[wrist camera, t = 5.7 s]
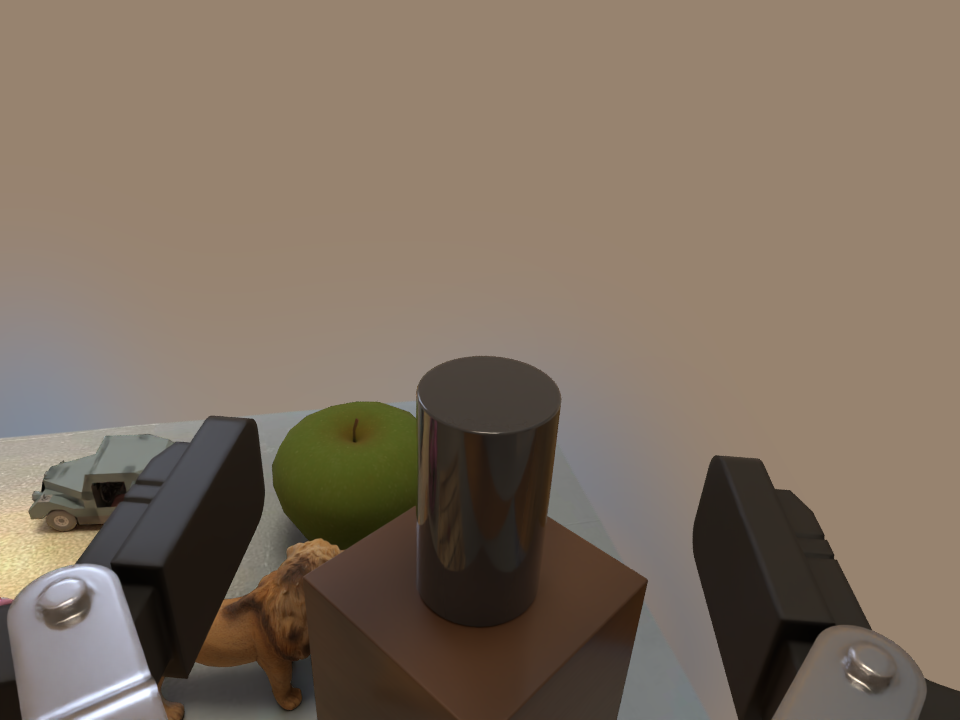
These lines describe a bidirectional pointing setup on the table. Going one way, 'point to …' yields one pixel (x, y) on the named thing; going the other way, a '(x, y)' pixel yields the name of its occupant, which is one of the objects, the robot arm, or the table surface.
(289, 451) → the apple
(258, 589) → the lion figurine
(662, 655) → the table surface
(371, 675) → the walnut plinth
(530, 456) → the glossy dark cylinder
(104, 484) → the toy car
